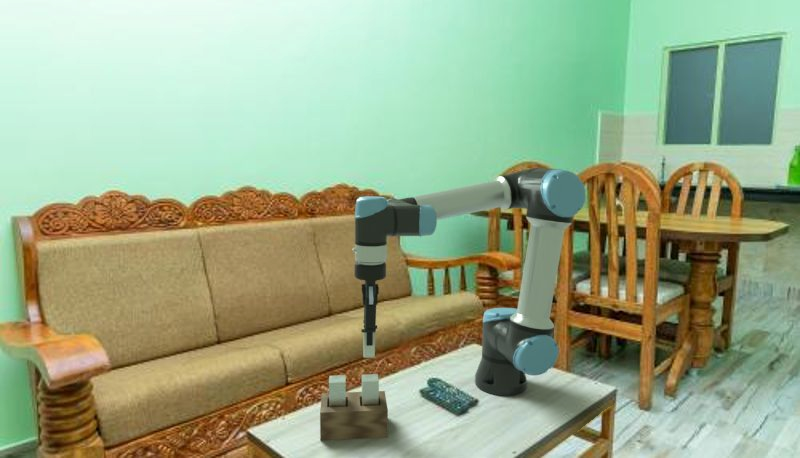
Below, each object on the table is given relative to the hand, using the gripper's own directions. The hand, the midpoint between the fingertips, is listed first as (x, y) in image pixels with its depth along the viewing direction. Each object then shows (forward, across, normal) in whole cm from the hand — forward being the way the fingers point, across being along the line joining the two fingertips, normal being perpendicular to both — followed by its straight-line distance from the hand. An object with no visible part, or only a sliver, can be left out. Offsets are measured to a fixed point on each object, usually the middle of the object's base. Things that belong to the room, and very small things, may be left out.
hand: (368, 356), depth 127 cm
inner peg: (+12, 0, 0) cm, 12 cm away
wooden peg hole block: (+19, 0, -4) cm, 19 cm away
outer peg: (+12, 0, -8) cm, 14 cm away
